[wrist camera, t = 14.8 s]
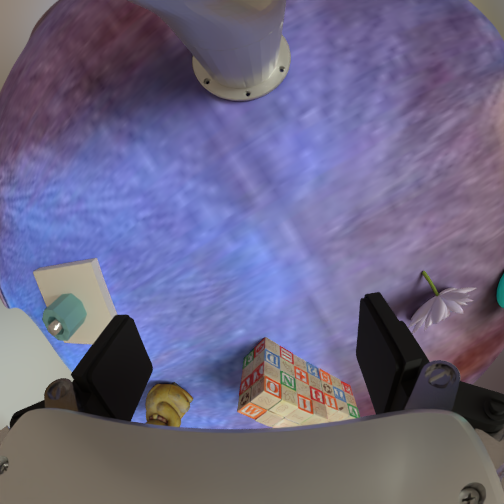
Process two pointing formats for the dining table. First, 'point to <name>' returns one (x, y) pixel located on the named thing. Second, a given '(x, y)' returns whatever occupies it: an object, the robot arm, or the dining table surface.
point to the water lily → (439, 305)
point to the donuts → (501, 292)
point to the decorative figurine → (167, 405)
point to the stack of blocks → (291, 390)
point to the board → (78, 296)
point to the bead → (65, 315)
